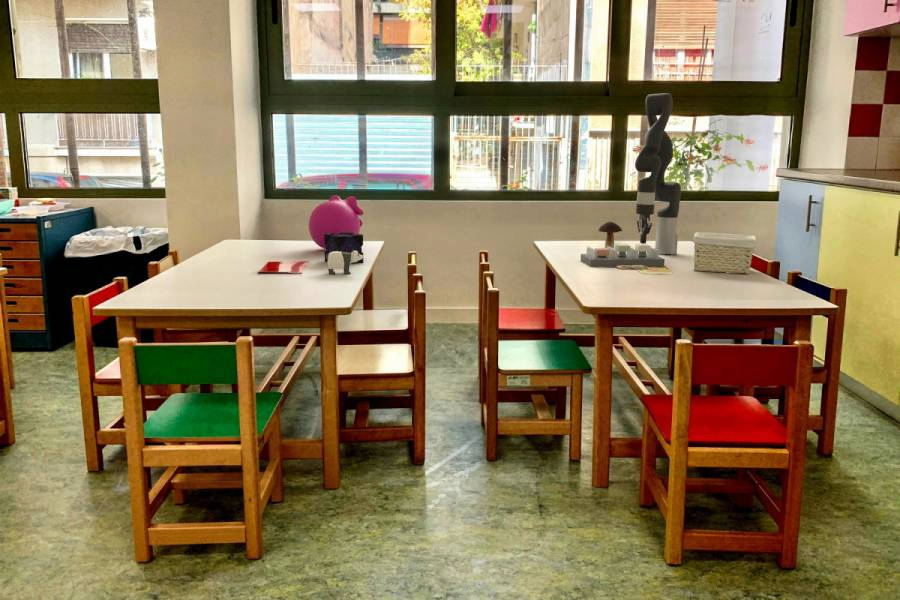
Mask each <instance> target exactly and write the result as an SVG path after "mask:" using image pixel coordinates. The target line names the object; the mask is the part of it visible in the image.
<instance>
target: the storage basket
mask: <svg viewBox="0 0 900 600" xmlns="http://www.w3.org/2000/svg"><path fill="white" fill-rule="evenodd" d="M756 241H757V237H756V236H755V235H747V234H739V233H738V234H735V233H722V232H721V233H720V232H706V231H705V232H704V231H703V232H700V231H697V232H695V233H694V235H693V242H692V243H693V244H694V247H693V249H694V254H693V270H694V271H699V272H700V271H701V272H710V271H711V272H710V273H722V272H729V273H728V274H738V273H745V274H744V275H750V269H751V265H752V259H753V253H754V250H755V248H756V243H757V242H756Z"/></svg>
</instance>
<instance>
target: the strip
mask: <svg viewBox="0 0 900 600" xmlns="http://www.w3.org/2000/svg"><path fill="white" fill-rule="evenodd" d="M615 268H616V269H617V270H648V266H642V265H632V266H629V265H619V266H615Z"/></svg>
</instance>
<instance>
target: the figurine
mask: <svg viewBox="0 0 900 600" xmlns="http://www.w3.org/2000/svg"><path fill="white" fill-rule="evenodd" d="M363 215H364V211H363V210H362V208H360V206H358V201H357V198H356V196H352V195H351V196H348V197H346V198H345V199H341V197H340V196H339V195H336V194H335V195H332V196H331V197H330V198H329V200H328V201H325V202H323V203H320V204H319V205H317V206H316V207H315V208H314V209H313V210H312V212H311V213H310V217H309V220H308V232H309V235H310V237H311V239H312V241H313V242H314V243H315V244H316V245H317V246H318V247H319V248H322V249H324V250H326V245H325V244H324V234H326V233H335V234H340V232H352V233H354V234H360V232H361V227H362V226H363V221H362V220H361V219H360V218H359V216H363Z"/></svg>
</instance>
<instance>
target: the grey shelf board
mask: <svg viewBox="0 0 900 600" xmlns="http://www.w3.org/2000/svg"><path fill="white" fill-rule="evenodd" d="M607 249H609V256H605V257H598V255H597V250H595V248H593V247H591V246H587V247H586V253H580V261H581V262H582V263H584V264H586V265H587V266H589V267H593V268H594V267H595V268H599V267H600V268H601V267H605V268H606V267H607V268H608V267H609V268H610V267H615V268H616V266H619V265H629V266H632V265H642V266H646V267H665V262H666V261H665V258H662V257H660V256H659V255H660V254H659V250H657V249H655V248H654V247H652V246H651V249H650V252H646V256H639V251H638V250H636V249H635V247H631V246H630V252H626V256H619V252H618V250H616V249H615V247H614V248H611V247H607Z"/></svg>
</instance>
